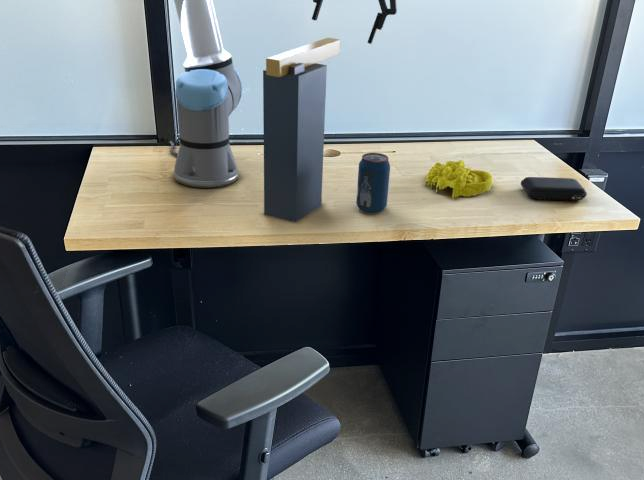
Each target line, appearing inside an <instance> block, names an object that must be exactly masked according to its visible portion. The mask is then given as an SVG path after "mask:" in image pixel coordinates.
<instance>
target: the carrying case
mask: <svg viewBox="0 0 644 480" xmlns="http://www.w3.org/2000/svg"><path fill="white" fill-rule="evenodd" d="M520 186H521V187H522V188H523V190H524V192H525V194H526V195H527V197H529V198H530V199H533V200H545V201H546V200H549V201H550V200H551V201H582V200H583V199H585V198H586V197H587V195H588V192H587V191H586V189H585V188H584V186H582V184H581V182H579V181H578V180H577V179H575V178H573V177H572V178H569V177H544V176H543V177H541V176H527V177H524V178H523V179H522V180H521V181H520Z"/></svg>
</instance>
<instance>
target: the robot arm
mask: <svg viewBox="0 0 644 480" xmlns="http://www.w3.org/2000/svg"><path fill="white" fill-rule="evenodd" d="M323 1H324V0H312V2H313V3H315V6H314V10H313V12H312V16H311V20H313V21H317V20H318V18H319V14H320V11H321V8H322V6H323ZM173 2H174V5H175V10H176V14H177V17H178V21H179V25H180V29H181V34H182V38H183V42H184V46H185V50H186V53H187V57H186V59H185V61H184V62H183V69H184V72H182V73H181V74H180V75H179V76H178V77H177V78H176V80H175V90H174V95H175V96H174V97H175V102H176V114H177V125H178V126H177V128H178V140H179V147H178V150H177V152H176V151H174V148H175V143H174V142H173V141H172V140H171V141H169V140H167V139H165V138H161V137H160V139H159V140H160V141H164V140H166V141H167V142H168V143H169V144H170V145H171V146H170V147H169V152H170V154H172V155H174V156H176V159H175V162H174V166H173V167H174V168H173V177H174V179H175V181H176V182H178V184H181V185H183V186H187V187H191V188H197V189H198V188H199V189H200V188H201V189H212V188H214V189H215V188H220V187H221V188H222V187H225V186H229V185H231V184H233V183H235V182H236V181H237V180H238V179H239V169H238V165H237V162H236V159H235V157H234V154H233V151H232V148H231V145H230V123H229V122H230V121H229V118H230V116H231V114H232V113H233V112H234V111H235V109H236V108H237V107H238V105H239V104H240V101H241V99H242V92H243V85H242V79H241V77H240V75H239V74H238V71H236V69H235V67H234V62H233V57H232V54H231V53H229V52H228V51H227V50H225V49H224V46H223V42H222V37H221V33H220V28H219V23H218V19H217V16H216V10H215V5H214V2H213V0H173ZM378 4H379V8H380V10H381V12H377V14H376V17H375V19H374V23H373V25H372V28H371V31H370V34H369V37H368V40H367V44H368V45H369V44H370V45H372V44H373V41H374V37H375V36H376V32H377V30H379V31H382V29H383V28H384V24H385V22H386V20H387V17H388V16H394V15H397V13H398V11H397V10H398V9H397V0H389V8H388V5H387V2H386V0H378Z"/></svg>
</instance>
